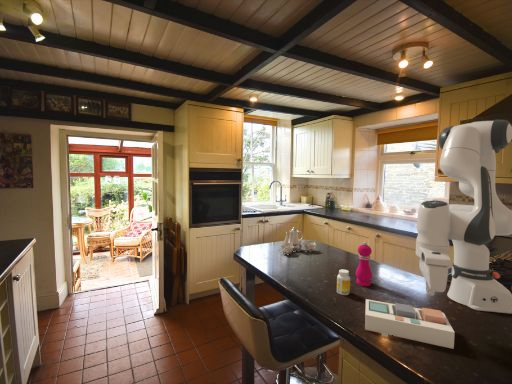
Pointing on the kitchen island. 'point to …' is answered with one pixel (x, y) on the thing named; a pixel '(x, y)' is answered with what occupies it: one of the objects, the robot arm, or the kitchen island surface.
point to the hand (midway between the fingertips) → (430, 293)
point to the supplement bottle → (343, 282)
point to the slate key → (404, 310)
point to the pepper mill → (364, 266)
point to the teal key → (378, 308)
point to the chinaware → (295, 243)
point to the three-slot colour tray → (408, 326)
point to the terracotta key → (433, 316)
